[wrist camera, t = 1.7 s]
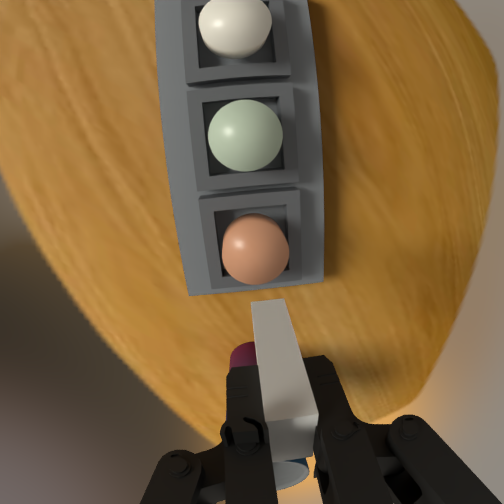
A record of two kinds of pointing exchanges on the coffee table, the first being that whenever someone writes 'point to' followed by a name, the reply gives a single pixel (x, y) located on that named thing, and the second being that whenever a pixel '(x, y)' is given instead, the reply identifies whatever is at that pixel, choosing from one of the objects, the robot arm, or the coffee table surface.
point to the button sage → (245, 135)
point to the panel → (232, 181)
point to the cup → (284, 471)
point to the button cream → (235, 27)
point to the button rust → (254, 249)
